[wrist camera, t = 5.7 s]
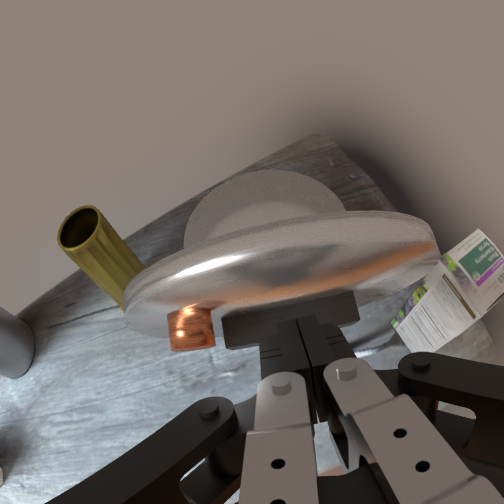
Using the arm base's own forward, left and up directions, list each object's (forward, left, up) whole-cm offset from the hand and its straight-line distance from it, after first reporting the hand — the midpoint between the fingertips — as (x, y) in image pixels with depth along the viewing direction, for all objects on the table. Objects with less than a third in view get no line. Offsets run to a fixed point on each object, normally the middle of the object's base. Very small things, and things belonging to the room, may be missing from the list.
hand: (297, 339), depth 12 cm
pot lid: (0, +4, -4) cm, 6 cm away
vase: (-17, +16, -22) cm, 32 cm away
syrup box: (+15, +4, -22) cm, 27 cm away
